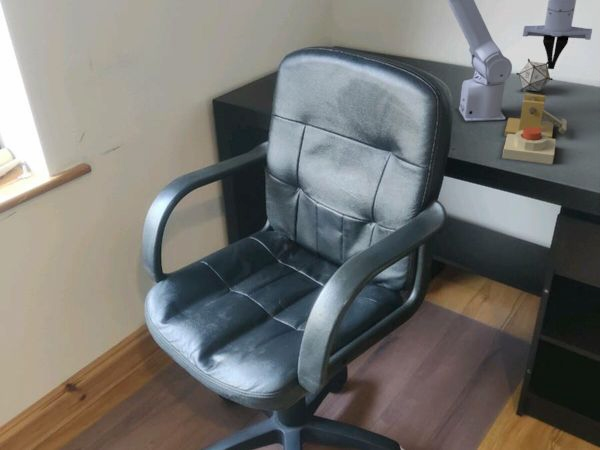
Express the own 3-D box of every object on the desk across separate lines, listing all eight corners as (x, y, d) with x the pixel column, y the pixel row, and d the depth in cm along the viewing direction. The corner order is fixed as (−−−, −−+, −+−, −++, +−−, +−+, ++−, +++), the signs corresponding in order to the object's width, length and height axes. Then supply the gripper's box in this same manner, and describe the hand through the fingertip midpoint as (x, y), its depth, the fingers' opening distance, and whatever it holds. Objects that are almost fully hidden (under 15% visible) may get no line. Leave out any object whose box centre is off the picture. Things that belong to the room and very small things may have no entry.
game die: (535, 103, 164) (564, 73, 160) (529, 102, 157) (559, 71, 153) (511, 81, 167) (539, 51, 162) (503, 79, 160) (532, 48, 155)
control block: (554, 148, 134) (557, 131, 132) (552, 164, 128) (555, 147, 125) (506, 142, 137) (508, 125, 135) (502, 158, 131) (504, 141, 129)
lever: (561, 126, 141) (569, 118, 139) (560, 136, 137) (568, 128, 135) (525, 102, 141) (532, 93, 139) (523, 111, 137) (530, 102, 135)
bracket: (552, 127, 143) (559, 94, 139) (551, 141, 137) (557, 107, 132) (508, 122, 146) (512, 89, 142) (504, 135, 140) (509, 102, 136)
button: (540, 135, 131) (542, 127, 130) (539, 142, 128) (541, 134, 127) (522, 133, 132) (524, 125, 131) (521, 140, 130) (522, 132, 129)
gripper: (525, 12, 138) (517, 71, 145) (595, 14, 133) (583, 75, 140) (528, 4, 143) (520, 61, 151) (596, 6, 138) (584, 65, 146)
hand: (551, 67), depth 146 cm, fingers closed
